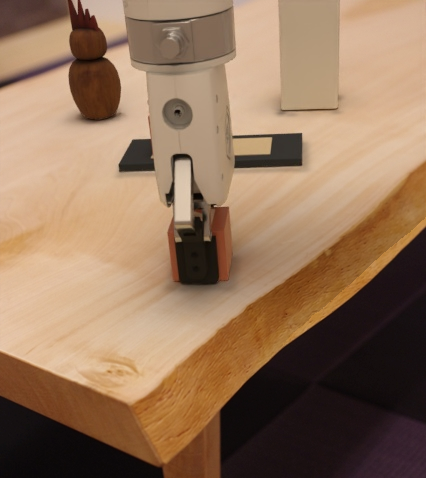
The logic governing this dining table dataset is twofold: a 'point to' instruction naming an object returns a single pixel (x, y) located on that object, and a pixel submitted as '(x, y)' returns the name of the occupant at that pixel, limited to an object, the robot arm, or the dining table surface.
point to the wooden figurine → (91, 67)
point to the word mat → (245, 151)
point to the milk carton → (309, 53)
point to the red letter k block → (219, 229)
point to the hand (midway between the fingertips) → (203, 263)
